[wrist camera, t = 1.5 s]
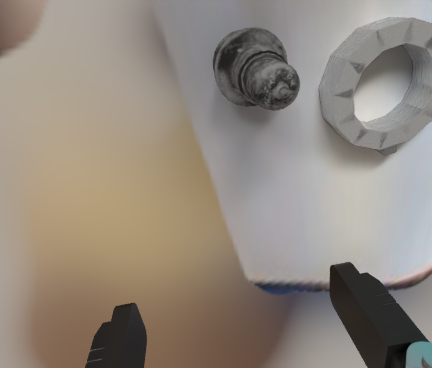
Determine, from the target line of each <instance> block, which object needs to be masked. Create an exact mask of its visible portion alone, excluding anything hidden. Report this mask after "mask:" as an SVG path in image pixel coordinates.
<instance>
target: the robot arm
mask: <svg viewBox="0 0 432 368" xmlns="http://www.w3.org/2000/svg"><path fill="white" fill-rule="evenodd" d="M329 292H330V298H331V302H332V304H333V307H334V309H335V310H336V312H337V314H338V316H339V318H340V319H341V321H342V323H343V325H344V326H345V328H346V330H347V332H348V334H349V335H350V337H351V339H352V340H353V342H354V344H355V346H356V348H357V350H358V351H359V353H360V355H361V357H362V358H363V360H364V362H365V364H366V366H367V367H368V368H432V343H430V342H429V341H428V340H427V339H426V337H425V336H424V335H423V334H422V333H421V331H420V330H419V329H418V328H417V326H416V325H415V324H414V323H413V322H412V320H411V319H410V318H409V316H408V315H407V314H406V313H405V312H404V310H403V309H402V308H401V307H400V305H399V304H397V303H396V301H395V299H394V298H393V297H392V296H391V294H389V292H388V291H387V289H386V288H385V287H384V286H383V284H382V283H381V282H380V281H379V280H377V279H376V278H374V277H373V276H371V275H370V274H368V273H362V274H360V273H359V272H358V271H357V269H356V268H355V267H354V265H353V264H352V263H351V262H346V263H341V264H336V265H331V267H330V290H329ZM146 345H147V335H146V329H145V326H144V323H143V321H142V318H141V315H140V313H139V310H138V307H137V305H136V304H135V303H130V304H125V305H120V306H116V307H115V308H114V311H113V315H112V319H111V322H105V323H103V324H102V325H101V327H100V328H99V330H98V331H97V333H96V334H95V336H94V339H93V342H92V346H91V349H90V350H91V352H90V353H89V356H88V359H87V364H86V366H85V368H144V363H145V354H146Z"/></svg>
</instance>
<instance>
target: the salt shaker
mask: <svg viewBox="0 0 432 368" xmlns="http://www.w3.org/2000/svg"><path fill="white" fill-rule="evenodd" d="M213 69H214V72H215V79H216V82H217V85H218V87H219V89H220V91H221V92H222V94H223V95H224V96H225V97H226V98H227V99H228V100H229V101H231V102H233V103H235V104H237V105H242V106H256V105H260V106H261V107H263V108H265V109H269V110H280V109H283V108H285V107H287V106H288V105H290V104H291V103H292V102H293V101H294V100H295V98H296V96H297V95H298V92H299V88H300V81H299V77H298V74H297V72H296V71H295V70H294V69H293V67H292V66H290V65H288V63H287V56H286V51H285V49H284V47H283V45H282V43H281V42H280V40H279V39H278V38H277V37H276V36H275V35H274V34H272V33H271V32H269V31H267V30H264V29H260V28H246V29H243V30H238V31H235V32H232V33H230V34H229V35H227V36H226V37H224V38H223V40H222V41H221V42H220V43H219V44H218V47H217V49H216V51H215V54H214V59H213Z"/></svg>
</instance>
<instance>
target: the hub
mask: <svg viewBox="0 0 432 368" xmlns="http://www.w3.org/2000/svg"><path fill="white" fill-rule="evenodd" d="M399 45H403V46H404V47H405V49H406V51H407V52H408V54H409V55H410V57H411V58H412V60H413V71H412V82H411V84H410V86H409V88H408V90H407V92H406V94H405V96H404V98H403V100H402V102H401V103H400V104H398V105H397V106H396V107H395V108H394V109H393V110H392V111H391V112H389V113H388V114H387V115H386V116H384V117H381V118H378V119H375V120H372V121H369V122H362V121H359V120H358V119H357V118H356V116H355V115H354V101H353V93H354V90H355V88H356V86H357V83H358V81H359V79H360V76H361V74H362V72H363V70H364V69H365V68H366V67H367V66H368V65H369V64H370V63H371V62H372V61H373V60H374V59H375V58H376V57H377V56H378V55H379V54H380V53H381V52H382V51H384V50H387V49H390V48H393V47H396V46H399ZM319 93H320V101H321V109H322V116H323V118H324V119H325V120H326V121H327V122H328V123H329V124H330V125H331V126H332V127H333V128H334V130H335V131H336V132H337V133H338V134H339V135H341V136H342V137H343V138H345V139H346V140H347V141H349V142H350V143H351V144H353V145H356V146H361V147H367V148H372V149H376V150H377V151H378V152H380V153H381V154H383V155H384V156H386V155H389V154H392V153H395V152H396V144H399V143H402V142H405V141H408V140H410V139H411V138H412V137H413V136H414V135H416V134H417V133H418V132H419V131H420V130H422V129H423V128H424V127H425V126H426V125H428V124H429V123H430V122H431V121H432V23H429V22H426V21H422V20H419V19H416V18H403V17H389V18H386V19H383V20H380V21H377V22H374V23H372V24H369V25H366V26H363V27H360V28H357V29H356V30H355V31H354V32H353V33H352V34H351V35H350V36H349V37H348V38H347V39H346V40H345V41H344V43H343V44H342V45H341V46H340V47H339V48H338V49H337V50H336V51H335V52H334V53H333V54H332V55H331V57H330V59H329V62H328V65H327V67H326V70H325V73H324V75H323V78H322V81H321V84H320V86H319Z"/></svg>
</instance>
